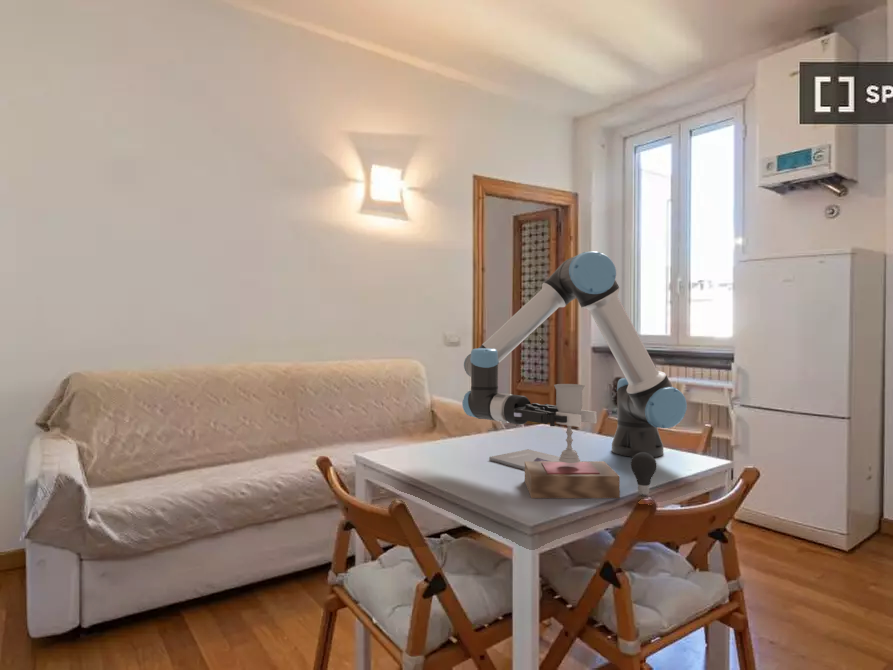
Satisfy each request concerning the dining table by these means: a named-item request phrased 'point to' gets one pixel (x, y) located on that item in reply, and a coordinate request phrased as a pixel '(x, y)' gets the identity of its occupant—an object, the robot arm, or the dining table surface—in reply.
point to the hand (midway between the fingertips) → (587, 419)
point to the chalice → (569, 403)
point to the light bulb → (643, 471)
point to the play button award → (522, 458)
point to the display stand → (571, 479)
